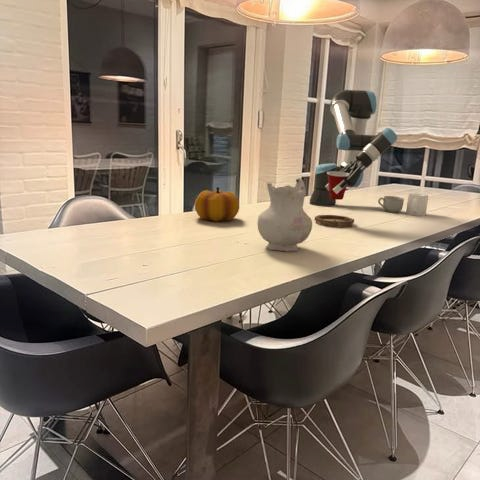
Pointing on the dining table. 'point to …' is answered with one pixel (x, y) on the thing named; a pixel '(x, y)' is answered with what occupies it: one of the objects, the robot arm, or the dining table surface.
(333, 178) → the plastic cup
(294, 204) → the ceramic pitcher
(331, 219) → the octagonal wooden tray
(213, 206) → the decorative pumpkin
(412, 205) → the mug
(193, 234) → the dining table surface
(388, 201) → the teacup
